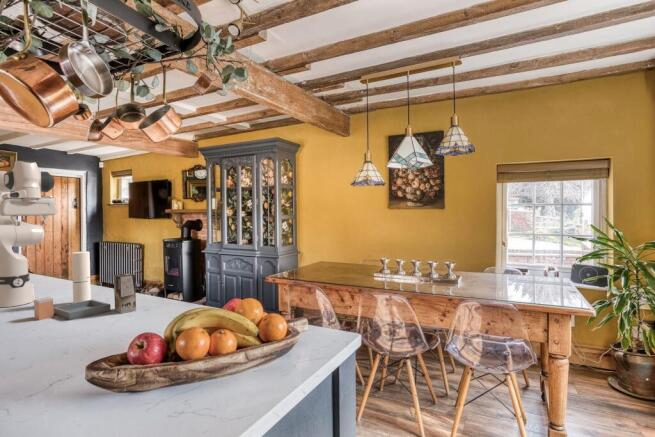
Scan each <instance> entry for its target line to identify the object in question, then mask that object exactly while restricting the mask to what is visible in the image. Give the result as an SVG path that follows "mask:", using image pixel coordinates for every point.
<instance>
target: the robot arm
mask: <svg viewBox="0 0 655 437" xmlns="http://www.w3.org/2000/svg"><path fill="white" fill-rule="evenodd" d="M13 166H14V167H13V168H12V169H11V170H8V171H5V170H0V308H9V307H10V308H11V307H18V306H22V305H26V304H30V303H34V299H39V297H37V296H35V289H34V284H33V283H32V282H30V279H31V278H30V277H31V276H30V273H29V264H28V263H29V260H28V258H27V257H26V256H25V255H23V254H20V253H17V252H14V250H13V248H14V247H15V248H16V247H17V248H18V247H29V246H30V247H31V246H33V245H38V244H41V243H42V242H43V241H44V239H45V236H46V234H45V233H46V232H45V230H44V228H43V227H42V226H46V225H47V224H46V222H47V220H48V218H49V216H55V215H57V213H58V210H57V206H56V204H57V199H56V198H55V197H54V196H52V195H42V192H43V193H48V192H50V191H51V190H52V189H53V188H54V186H55V179H54V178H55V177H54V176H53V175H52V174H51V173H50V172H48V171H40V170H39V167H38V164H37V162H35V161H33V160H23V159H22V160H21V159H19V160H15V161H14V165H13ZM23 216H24V217H29V216H33V217H34V216H35V217H36V216H37V217H38V216H41V217H42V219H43V220H41V221H40V222H39V223H40V225H39V224H32V223H29V222H25V221H22V220H19V219H17V217H23Z"/></svg>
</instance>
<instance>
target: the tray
mask: <svg viewBox="0 0 655 437" xmlns="http://www.w3.org/2000/svg"><path fill="white" fill-rule="evenodd" d="M110 311H111V303H107V302H103V301H100V300H96V299H91V300H87V301H82V302H77V303H73V302H72V303H68V304H67V303H66V304H63V305H56V306H53V312H54V316H57V317H60V318H62V319H65V320H68V321H72V320H76V319H81V318H84V317H85V318H86V317H89V316H90V317H91V316H94V315H97V314H98V315H99V314H102V313H107V312H110Z"/></svg>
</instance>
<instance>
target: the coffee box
mask: <svg viewBox="0 0 655 437" xmlns="http://www.w3.org/2000/svg"><path fill="white" fill-rule="evenodd" d="M136 286H137V285H136V274H133V273H129V272H126V273H120V274H114V275H113V290H114V291H113V292H114V311H116V312H118V313H120V314H125V313H129V312H131V313H132V312H135V311H137V303H136V302H137V298H136V297H137V295H136V290H137V288H136Z"/></svg>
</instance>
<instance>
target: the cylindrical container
mask: <svg viewBox="0 0 655 437" xmlns="http://www.w3.org/2000/svg"><path fill="white" fill-rule="evenodd" d="M90 255H91V254H90V251H73V252H72V253H71V266H72V268H71V269H72V270H71V271H72V274H71V275H72V301H73V302H72V303H77V302H82V301H87V300H92V290H91V286H92V284H91V262H90V261H91V257H90Z"/></svg>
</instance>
